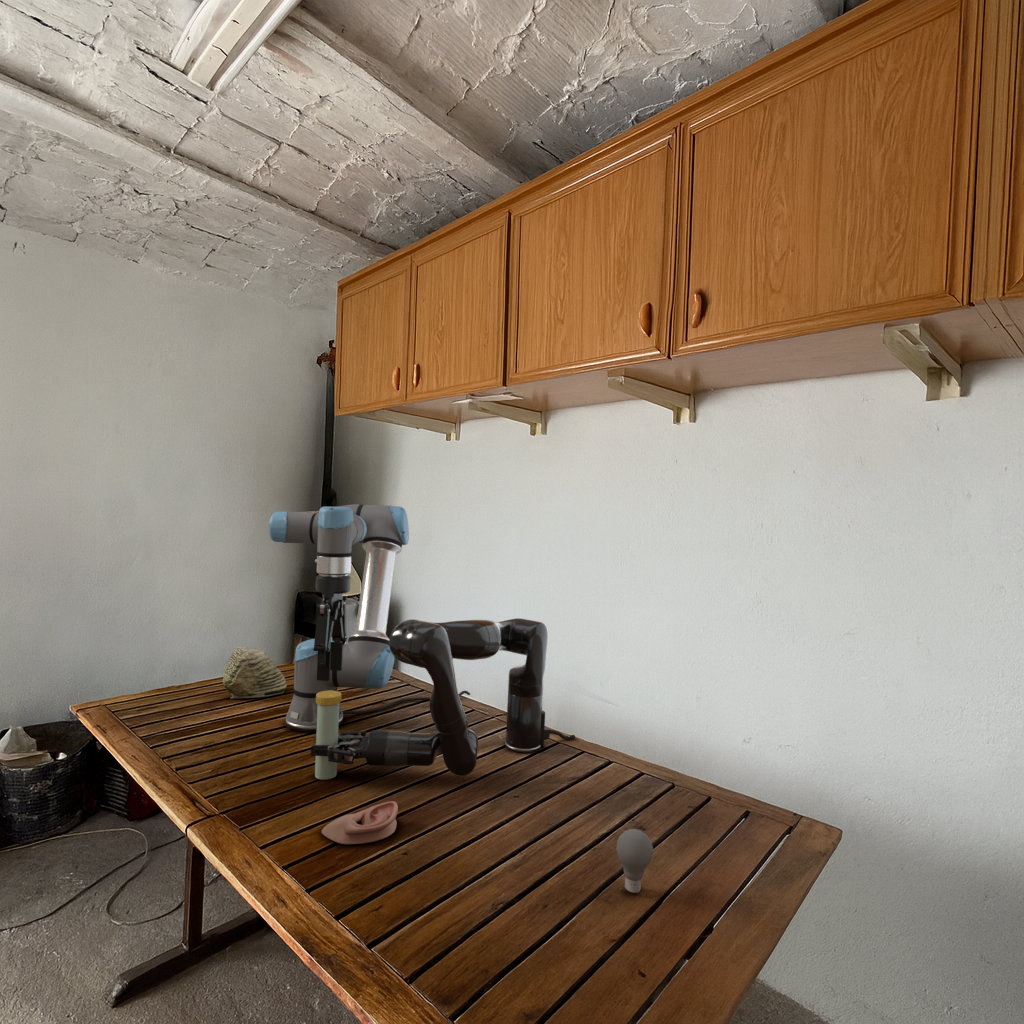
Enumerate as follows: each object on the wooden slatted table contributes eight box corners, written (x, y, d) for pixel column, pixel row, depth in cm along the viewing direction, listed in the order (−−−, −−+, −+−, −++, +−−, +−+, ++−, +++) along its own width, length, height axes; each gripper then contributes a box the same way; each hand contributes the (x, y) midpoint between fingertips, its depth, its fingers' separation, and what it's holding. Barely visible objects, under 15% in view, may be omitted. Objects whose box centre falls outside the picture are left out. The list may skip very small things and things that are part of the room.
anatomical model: (313, 818, 117) (342, 790, 128) (313, 839, 117) (341, 810, 128) (381, 829, 114) (404, 800, 125) (380, 850, 114) (403, 819, 125)
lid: (316, 706, 140) (316, 698, 140) (314, 698, 146) (315, 691, 146) (342, 704, 142) (343, 697, 142) (340, 697, 148) (340, 689, 148)
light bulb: (610, 879, 108) (613, 822, 108) (644, 879, 109) (647, 822, 109) (619, 902, 102) (622, 840, 102) (655, 901, 103) (658, 840, 103)
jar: (315, 780, 141) (318, 699, 141) (314, 771, 146) (317, 693, 145) (337, 778, 143) (340, 698, 142) (335, 769, 147) (338, 692, 147)
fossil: (218, 695, 195) (220, 647, 195) (278, 685, 208) (279, 640, 207) (228, 703, 189) (230, 653, 188) (289, 692, 201) (290, 645, 201)
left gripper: (332, 569, 154) (328, 662, 154) (299, 579, 133) (295, 687, 134) (362, 570, 153) (359, 664, 154) (334, 581, 133) (330, 689, 133)
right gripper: (395, 720, 151) (324, 718, 151) (384, 744, 137) (305, 741, 137) (394, 752, 151) (323, 749, 151) (383, 778, 137) (304, 775, 137)
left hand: (329, 674), depth 144 cm, fingers open, 8 cm apart
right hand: (315, 745), depth 144 cm, fingers closed on jar, 4 cm apart
